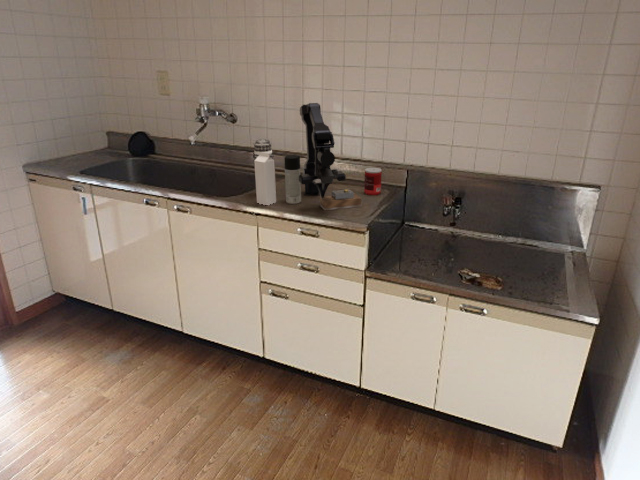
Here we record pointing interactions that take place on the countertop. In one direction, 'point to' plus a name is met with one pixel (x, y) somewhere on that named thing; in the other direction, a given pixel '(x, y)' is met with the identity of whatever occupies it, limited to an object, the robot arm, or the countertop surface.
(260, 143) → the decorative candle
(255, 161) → the milk
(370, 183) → the canned food
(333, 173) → the robot arm
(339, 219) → the countertop surface
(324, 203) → the body
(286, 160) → the spray can
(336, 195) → the lever cap
